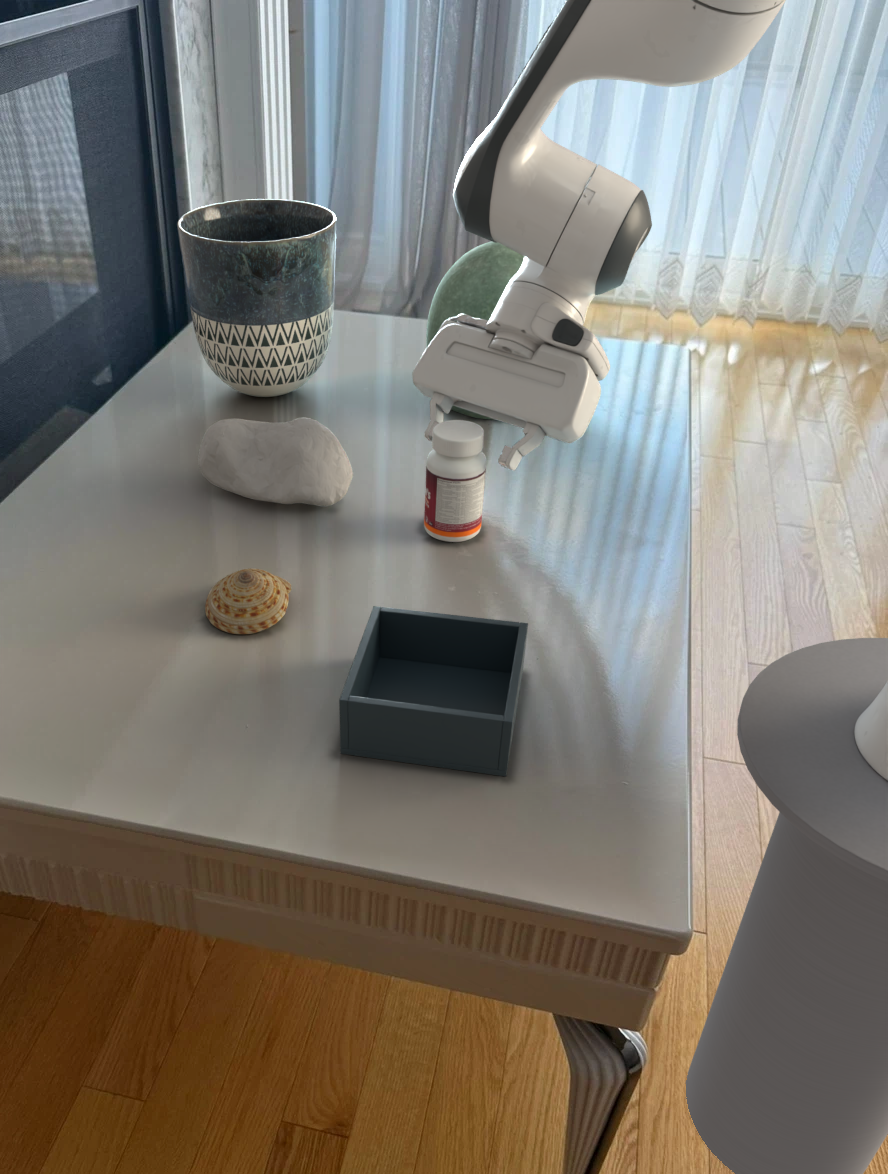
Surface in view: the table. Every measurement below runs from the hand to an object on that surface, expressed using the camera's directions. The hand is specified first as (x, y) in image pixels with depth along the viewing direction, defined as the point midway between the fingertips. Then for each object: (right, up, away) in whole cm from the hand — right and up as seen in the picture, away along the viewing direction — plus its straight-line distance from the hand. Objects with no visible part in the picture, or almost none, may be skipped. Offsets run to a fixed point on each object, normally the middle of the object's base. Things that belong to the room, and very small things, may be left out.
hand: (467, 453), depth 108 cm
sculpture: (+7, +14, +30) cm, 34 cm away
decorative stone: (-21, -2, +11) cm, 24 cm away
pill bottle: (-1, -7, +4) cm, 8 cm away
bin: (-5, -27, -20) cm, 34 cm away
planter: (-23, +17, +34) cm, 45 cm away
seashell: (-22, -17, -7) cm, 29 cm away
